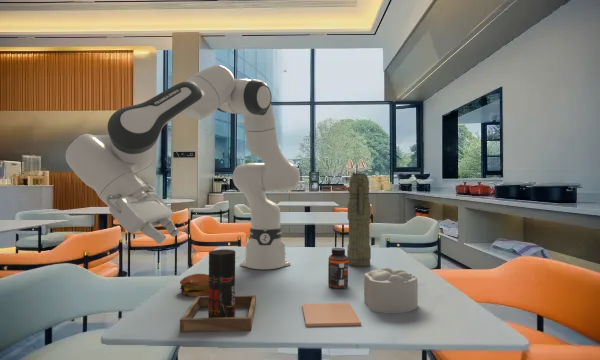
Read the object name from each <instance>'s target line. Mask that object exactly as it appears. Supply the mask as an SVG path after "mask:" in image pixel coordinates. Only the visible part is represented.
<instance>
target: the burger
mask: <svg viewBox="0 0 600 360" xmlns="http://www.w3.org/2000/svg"><path fill="white" fill-rule="evenodd" d="M179 285H180V288H179V290H180V292H181V294H182V295H183V296H188V297H190V298H197V296H209V274H207V273H206V274H205V273H193V274H190V275H187V276H184V277H183V278H182V279H181V280H180V281H179Z"/></svg>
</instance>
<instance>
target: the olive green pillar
mask: <svg viewBox="0 0 600 360" xmlns="http://www.w3.org/2000/svg"><path fill="white" fill-rule="evenodd" d="M348 193H349V198H348V199H349V200H348V202H347V220H348V245H347V252H346V253H347V254H346V256H347V257H348V266H351V267H354V268H355V267H356V268H367V267H370V266H371V259H372V252H371V251H372V249H371V245H370V221H371V215H372V214H371V211H372V210H371V209H372V207H371V202H370V198H369V194H370V180H369V178H368V175H367V174H366V173H353V174H351V175H350V178H349V182H348Z"/></svg>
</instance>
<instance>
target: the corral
mask: <svg viewBox="0 0 600 360" xmlns="http://www.w3.org/2000/svg"><path fill="white" fill-rule="evenodd" d="M208 305H209V295H206V296H197V297H195V299H194V300H193V302H192V303H191V304H190V306H189V307H188V308H187V310H185V312H184V313H183V315H182V316H181V318H180V319H179V332H180V333H193V332H194V333H195V332H196V333H197V332H199V333H200V332H235V331H237V332H239V331H240V332H241V331H242V332H243V331H244V332H245V331H252V327H253V323H254V316H255V311H256V307H257V306H256V305H257V295H251V294H250V295H245V294H244V295H235V308H241V307H242V308H243V307H244V308H245V307H249V311H248V315H247V316H235V317H223V318H208V317H195V315H197V313H198V311H199V309H200V308H208Z"/></svg>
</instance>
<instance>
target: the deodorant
mask: <svg viewBox="0 0 600 360" xmlns="http://www.w3.org/2000/svg"><path fill="white" fill-rule="evenodd" d="M208 275H209V294H208V296H209V305H208V307H207V309H208V310H207V311H208V317H207V318H223V317H236V307H235V296H236V250H234V249H215V250H210V251H209V252H208Z"/></svg>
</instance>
